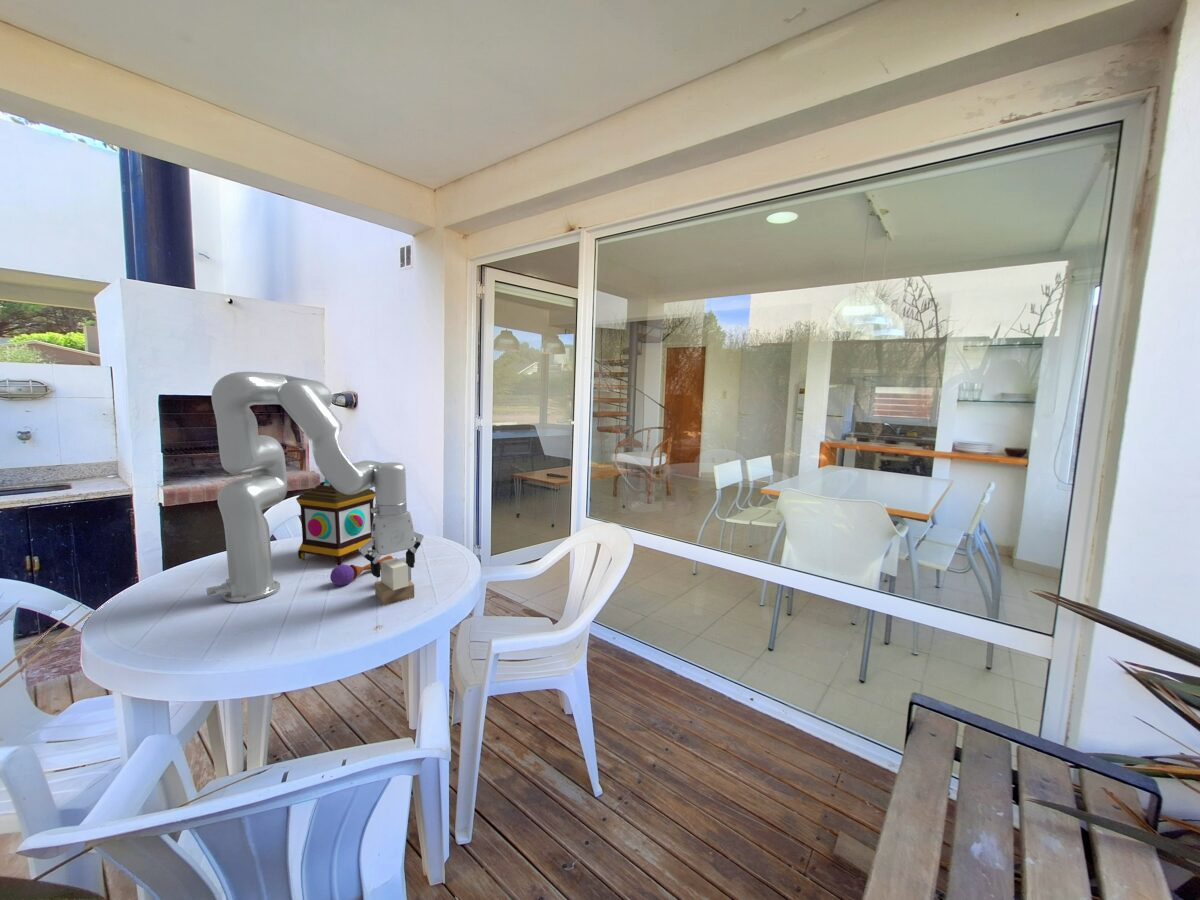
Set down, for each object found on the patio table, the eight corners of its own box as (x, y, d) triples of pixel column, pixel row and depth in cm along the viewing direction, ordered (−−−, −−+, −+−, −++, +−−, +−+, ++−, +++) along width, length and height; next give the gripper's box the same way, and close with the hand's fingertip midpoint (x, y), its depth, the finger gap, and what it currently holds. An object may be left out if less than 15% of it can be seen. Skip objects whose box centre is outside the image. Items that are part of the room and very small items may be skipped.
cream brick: (408, 585, 127) (407, 564, 126) (393, 590, 124) (392, 568, 123) (396, 578, 131) (396, 557, 131) (382, 582, 128) (381, 561, 128)
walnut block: (383, 606, 123) (382, 592, 123) (375, 596, 129) (374, 582, 129) (414, 598, 128) (414, 584, 127) (405, 588, 134) (405, 575, 134)
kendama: (398, 554, 150) (341, 571, 131) (395, 572, 150) (338, 591, 132) (384, 548, 152) (327, 564, 133) (381, 566, 153) (324, 584, 134)
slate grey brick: (387, 587, 134) (387, 567, 133) (381, 583, 137) (380, 563, 136) (411, 580, 140) (410, 560, 139) (404, 576, 142) (404, 557, 141)
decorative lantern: (342, 542, 172) (338, 461, 168) (386, 549, 165) (383, 465, 162) (291, 561, 153) (285, 469, 149) (338, 569, 147) (333, 474, 143)
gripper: (364, 518, 117) (367, 584, 119) (428, 505, 130) (430, 566, 132) (351, 512, 121) (354, 576, 124) (415, 501, 135) (416, 559, 137)
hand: (393, 571), depth 128 cm, fingers open, 9 cm apart
